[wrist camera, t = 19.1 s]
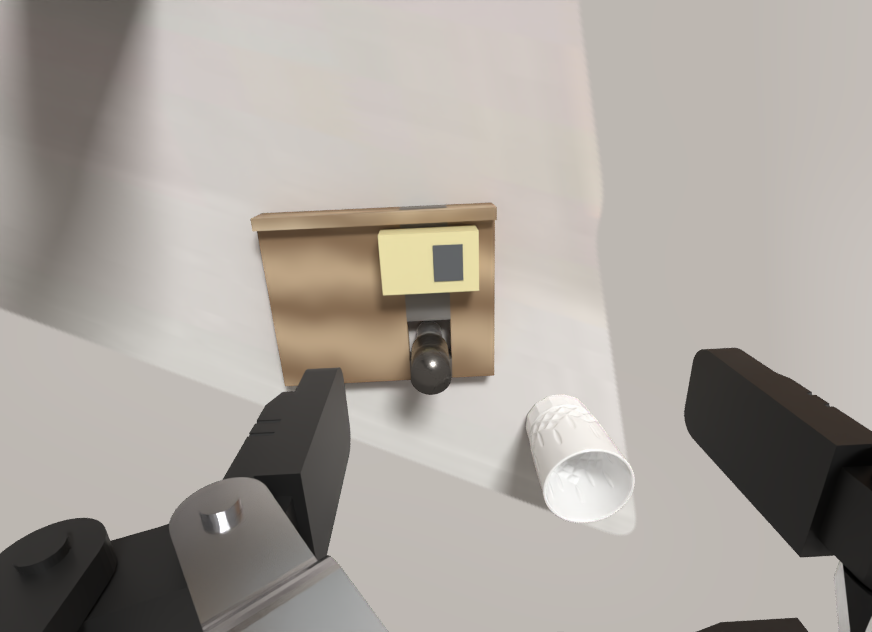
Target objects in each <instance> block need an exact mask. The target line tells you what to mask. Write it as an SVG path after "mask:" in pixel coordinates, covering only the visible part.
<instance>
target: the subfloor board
mask: <svg viewBox="0 0 872 632" xmlns="http://www.w3.org/2000/svg"><path fill="white" fill-rule="evenodd" d="M495 220H497V207H496V206H494V205H493V204H492V203H474V204H452V205H431V206H409V207H388V208H367V209H345V210H324V211H302V212H281V213H262V214H260V215H258V216H256V217H254V218H251V225H252V230H253V231H257V233H258V239H259V244H260V250H261V255H262V261H263V266H264V272H265V278H266V283H267V289H268V294H269V300H270V305H271V311H272V316H273V322H274V327H275V333H276V338H277V344H278V349H279V355H280V360H281V366H282V372H283V377H284V383H285V386H298V384H299V382H300V380H301V378H302V376H303V374H304V372H305V371H306V370H307V369H318V368H337V367H340V368H341V370H342V373H343V378H344V383H356V382H376V381H395V380H411V358H412V352H410V345H409V330H408V321H428V320H448V319H450V346H451V350H448V353H449V361H450V369H451V378H453V377H472V376H491V375H494V274H495ZM468 225H475V226H476V227H477V229H478V230H479V291H463V292H443V293H423V294H403V295H383V290H382V279H381V268H380V256H379V245H378V234H379V231H380V230H383V229H405V228H426V227H447V226H468Z"/></svg>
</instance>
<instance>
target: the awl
mask: <svg viewBox="0 0 872 632" xmlns="http://www.w3.org/2000/svg"><path fill="white" fill-rule="evenodd" d="M411 382H412V384H413V386H414V387H415V388H416V389H417V390H418V391H419V392H421V393H424V394H428V395H433V394H438V393H440V392H442V391H444V390H445V389H446V388H447V387H448V386H449V384H450V382H451V369H450V361H449V353H448V346H447V343H446V341H445V340H444V339H443V338H442V332H441V328H440V326H439V325H438V324H437V323H436V322H434V321H425V322H423V323H421V324H420V325H419V326H418V328H417V339H416V340H415V341H414V343H413V346H412V358H411Z"/></svg>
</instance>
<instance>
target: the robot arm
mask: <svg viewBox="0 0 872 632" xmlns="http://www.w3.org/2000/svg"><path fill="white" fill-rule="evenodd" d="M684 416H685V423H686V426H687V429H688V432H689V434H690V435H691V437H692V438H693V439H694V440H695V441H696V443H697V444H698V445H699V446H700V447H701V448H702V449H703V450H704V451H705V452H706V453H707V455H708V456H709V457H710V458H711V459H712V460H713V461H714V462H715V464H716V465H717V466H718V467H719V468H720V469H721V470H722V471H723V472H724V473H725V474H726V476H727V477H728V478H729V479H730V480H731V481H732V482H733V483H734V484H735V486H736V487H737V488H738V489H739V490H740V491H741V492H742V493H743V494H744V495H745V497H746V498H747V499H748V500H749V501H750V502H751V503H752V504H753V506H754V507H755V508H756V509H757V510H758V511H759V512H760V513H761V514H762V515H763V516H764V517H765V519H766V520H767V521H768V522H769V523H770V524H771V525H772V526H773V528H774V529H775V530H776V531H777V532H778V533H779V534H780V535H781V536H782V538H783V539H784V540H785V541H786V542H787V543H788V544H789V545H790V546H791V547H792V548H793V550H794V551H795V552H796V553H797V554H798V555H799V556H800V557H816V556H833V555H835V556H836V557H837V558H838V559H839V560H840V561H839V564H838V567H837V569H836V572H835V575H834V582H835V594H836V605H837V616H838V627H839V632H872V431H870V430H869V429H867V428H866V427H864V426H863V425H861V424H860V423H858V422H856V421H855V420H854V419H852V418H850V417H849V416H847V415H846V414H844V413H843V412H841V411H840V410H838V409H837V408H835V407H830V406H829V403H827V402H826V401H824V400H823V399H821V398H820V397H818V396H817V395H812V392H810V391H809V390H807V389H806V388H804V387H803V386H801V385H800V384H798V383H796V382H795V381H794V380H792V379H790V378H788V377H785V376H783V375H780V374H778V373H776V372H774V371H772V370H771V369H770V368H768V367H766V366H765V365H763V364H762V363H760V362H759V361H757V360H756V359H754V358H753V357H751V356H750V355H748V354H747V353H745V352H744V351H742V350H740V349H738V348H722V349H704V350H703V349H702V350H700V351H698V352H697V353H696V355H695V357H694V360H693V365H692V371H691V376H690V382H689V387H688V393H687V399H686V404H685V411H684ZM249 434H250V435H249V437H247V438H246V440H245V442H244V444H243V445H242V447H241V449H240V451H239V452H238V454H237V456H236V457H235V459H234V461H233V463H232V464H231V466H230V468H229V470H228V471H227V473H226V475H225V477H224V478H223V480H221V481H217V482H215V483H212V484H210V485H207V486H205V487H203V488H201V489H199V490H198V491H196V492H195V493H193V494H192V495H190V496H189V497H188V498H186V499H185V500H184V501H183V502H182V503H181V504H180V505H179V506H178V508H177V509H176V510H175V512H174V513H173V515H172V517H171V520H170V522H169V524H167V525H164V526H161V527H158V528H155V529H151V530H148V531H144V532H140V533H137V534H133V535H130V536H126V537H123V538H119V539H116V540H112V541H110V539H109V537H108V534H107V531H106V529H105V527H104V525H103V524H102V523H101V522H99V521H97V520H94V519H90V518H75V519H69V520H64V521H61V522H57V523H54V524H51V525H48V526H46V527H44V528H41V529H39V530H36V531H34V532H32V533H30V534H28V535H27V536H25V537H23V538H21V539H20V540H18V541H16V542H15V543H14V544H12V545H11V546H9V547H8V548H6V549H5V550H4V551H3V552H2V553H1V554H0V632H388V630H387V629H386V628H385V626H384V625H383V624H382V623H381V621H380V620H379V618H378V617H377V615H376V614H375V613H374V611H373V610H372V609H371V607H370V606H369V605H368V603H367V602H366V600H365V599H364V598H363V596H362V595H361V594H360V592H359V591H358V590H357V588H356V587H355V585H354V584H353V583H352V581H351V580H350V579H349V577H348V576H347V574H346V573H345V572H344V570H343V569H342V568H341V566H340V565H339V564H338V563H337V562H336V560H335V559H333V558H332V557H331V556H328V555H327V551H328V547H329V543H330V538H331V534H332V529H333V525H334V520H335V516H336V511H337V507H338V503H339V498H340V494H341V489H342V485H343V480H344V476H345V471H346V466H347V463H348V458H349V452H350V424H349V416H348V409H347V401H346V393H345V385H344V378H343V373H342V370H341V368H340V367H337V368H318V369H307V370H306V371H305V372H304V374H303V376H302V378H301V380H300V382H299V384H298V386H297V389H296V391H295V392H282V393H281V394H280V395H278V396H277V397H276V398H274V399H273V400H272V401H271V402H269V403H268V404H267V405H266V406H265V407H264V409H263V411H262V412H261V414H260V416H259V418H258V419H257V424H255V425H254V427H253V428H252V430H251V431H250V433H249ZM697 632H808V631H807V629H806V628H805V627H804V626H803V624H802V623H801V622H800V621H799V619H798V618H785V619H769V620H753V621H735V622H720V623H718V624H715V625H713V626H710V627H708V628H705V629H702V630H700V631H697Z"/></svg>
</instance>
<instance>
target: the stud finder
mask: <svg viewBox="0 0 872 632" xmlns="http://www.w3.org/2000/svg"><path fill="white" fill-rule="evenodd" d="M378 245H379V256H380V268H381V279H382V290H383V295H403V294H423V293H443V292H463V291H479V230H478V229H477V227H476V226H475V225H468V226H447V227H426V228H405V229H383V230H380V231H379V234H378Z"/></svg>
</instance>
